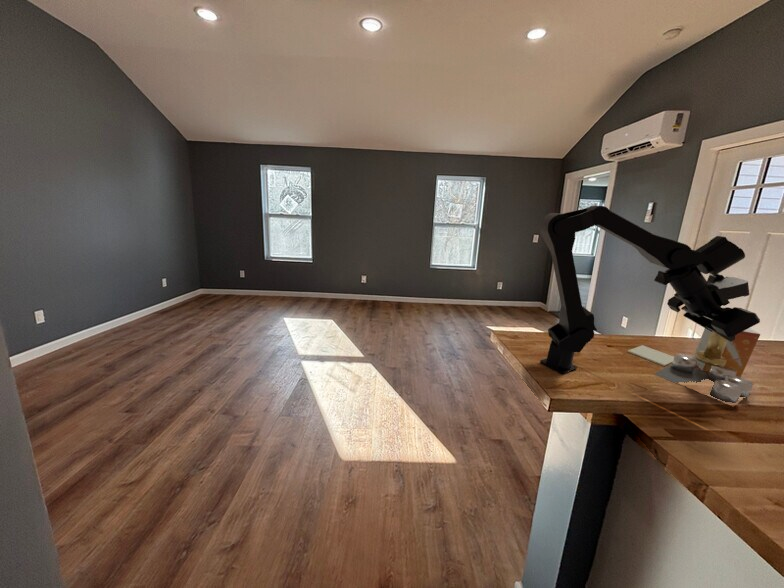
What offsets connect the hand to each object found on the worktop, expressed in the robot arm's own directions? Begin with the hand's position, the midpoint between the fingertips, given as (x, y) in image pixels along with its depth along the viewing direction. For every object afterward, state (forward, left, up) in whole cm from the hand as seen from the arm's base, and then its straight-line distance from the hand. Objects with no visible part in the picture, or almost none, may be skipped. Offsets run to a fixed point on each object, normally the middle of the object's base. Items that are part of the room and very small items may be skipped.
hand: (726, 337), depth 75 cm
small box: (+13, +2, -13) cm, 18 cm away
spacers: (0, +1, -12) cm, 13 cm away
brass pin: (-1, +1, -7) cm, 7 cm away
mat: (0, +1, -13) cm, 13 cm away
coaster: (+5, +13, -13) cm, 19 cm away
